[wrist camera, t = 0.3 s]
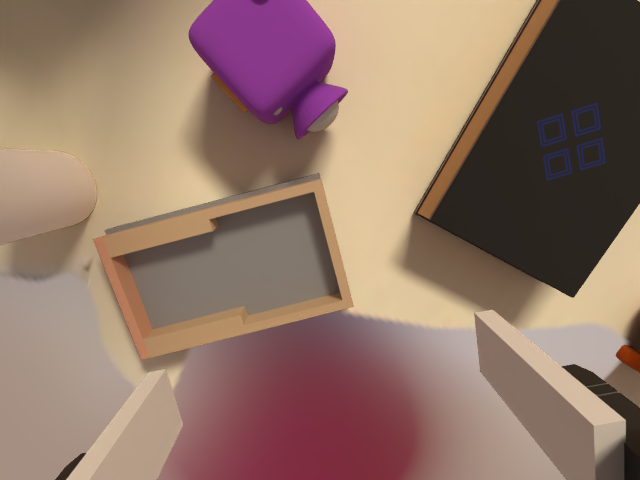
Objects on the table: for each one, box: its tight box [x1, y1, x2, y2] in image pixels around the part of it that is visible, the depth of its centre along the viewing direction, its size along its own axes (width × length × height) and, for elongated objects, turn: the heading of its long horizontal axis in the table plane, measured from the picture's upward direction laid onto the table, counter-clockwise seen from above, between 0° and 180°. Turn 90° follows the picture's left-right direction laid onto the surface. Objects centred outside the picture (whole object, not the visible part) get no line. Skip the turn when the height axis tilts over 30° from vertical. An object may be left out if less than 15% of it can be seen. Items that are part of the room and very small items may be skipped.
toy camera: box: [189, 0, 348, 139], centre depth 34 cm, size 11×14×10 cm
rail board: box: [93, 173, 354, 360], centre depth 41 cm, size 15×24×4 cm, turn 105°
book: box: [414, 0, 640, 298], centre depth 38 cm, size 17×25×7 cm
